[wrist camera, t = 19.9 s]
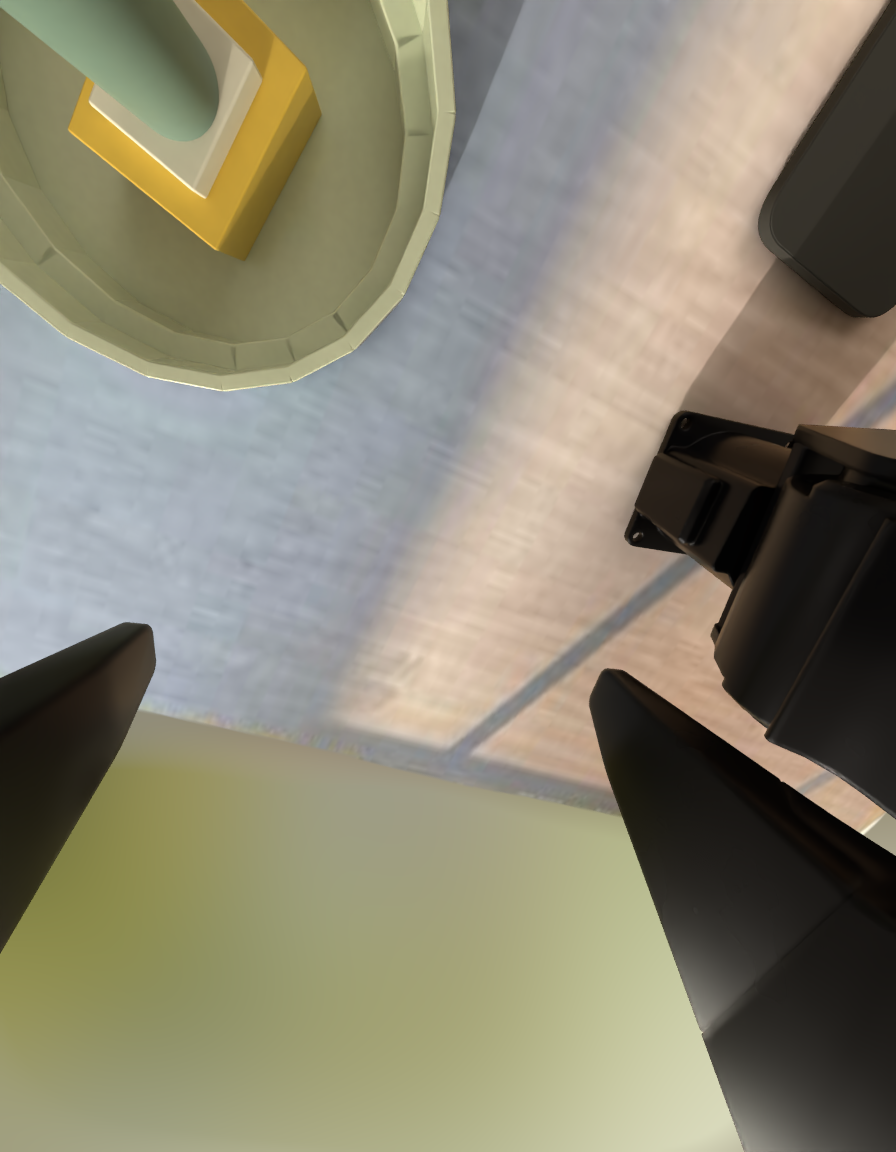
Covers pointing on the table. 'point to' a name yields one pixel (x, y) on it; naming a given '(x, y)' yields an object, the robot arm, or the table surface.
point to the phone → (845, 187)
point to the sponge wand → (185, 104)
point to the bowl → (288, 237)
